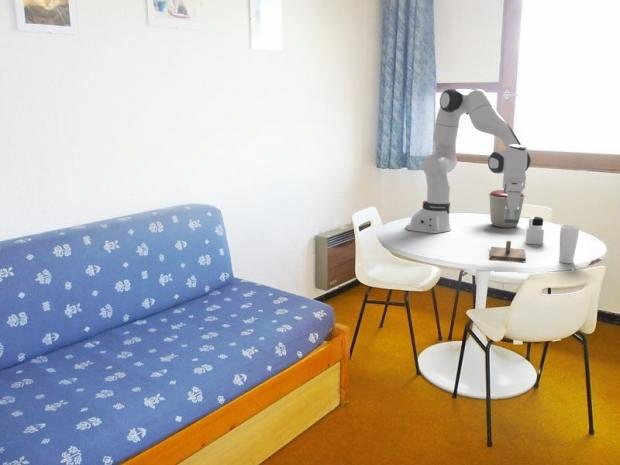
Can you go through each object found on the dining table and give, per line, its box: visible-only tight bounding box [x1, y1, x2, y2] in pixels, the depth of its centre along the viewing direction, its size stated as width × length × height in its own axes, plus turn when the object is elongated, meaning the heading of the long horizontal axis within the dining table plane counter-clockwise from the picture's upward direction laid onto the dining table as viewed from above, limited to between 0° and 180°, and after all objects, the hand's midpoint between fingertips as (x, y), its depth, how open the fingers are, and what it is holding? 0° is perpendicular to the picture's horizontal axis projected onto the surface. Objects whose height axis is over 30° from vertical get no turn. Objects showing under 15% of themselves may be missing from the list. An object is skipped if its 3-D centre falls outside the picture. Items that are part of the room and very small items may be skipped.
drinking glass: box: [558, 224, 580, 264], centre depth 231 cm, size 7×7×15 cm
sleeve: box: [504, 206, 519, 224], centre depth 237 cm, size 5×5×6 cm
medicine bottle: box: [525, 216, 545, 246], centre depth 260 cm, size 7×7×12 cm
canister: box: [488, 188, 526, 229], centre depth 291 cm, size 18×18×21 cm
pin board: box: [489, 240, 527, 262], centre depth 241 cm, size 14×14×6 cm
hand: (511, 216), depth 237 cm, fingers closed on sleeve, 5 cm apart
